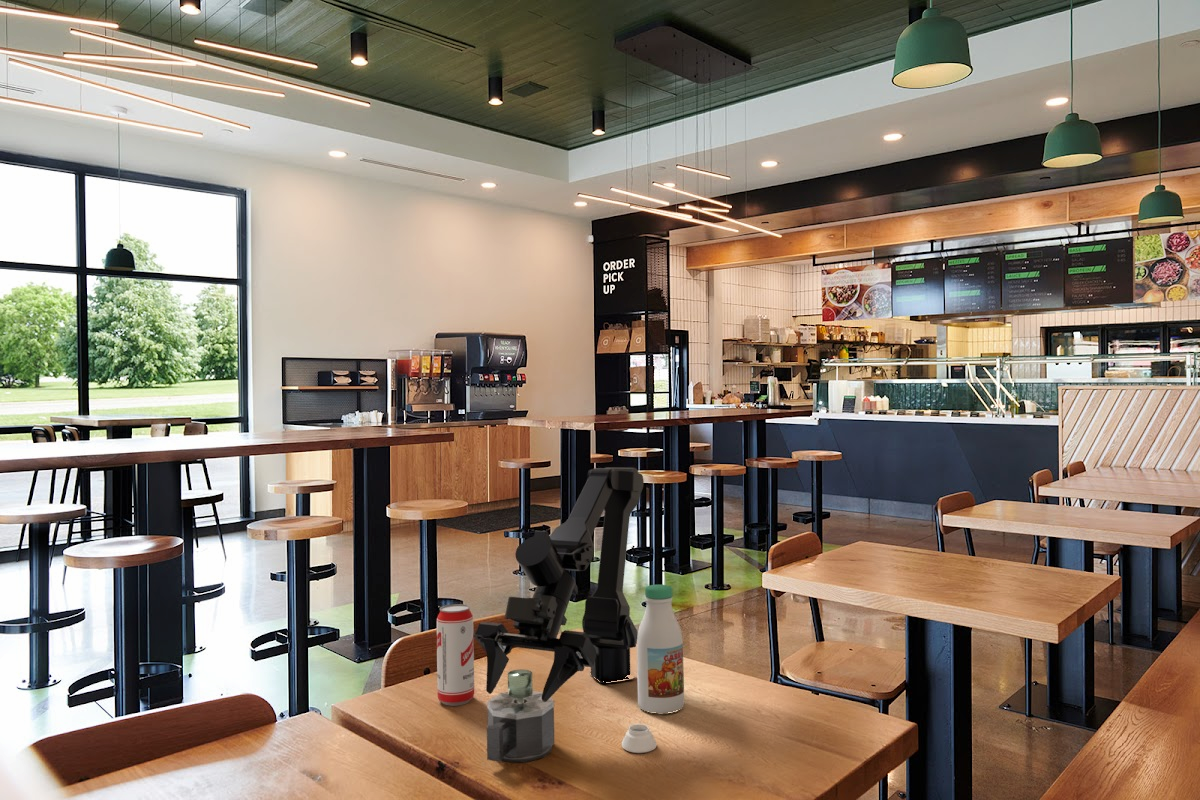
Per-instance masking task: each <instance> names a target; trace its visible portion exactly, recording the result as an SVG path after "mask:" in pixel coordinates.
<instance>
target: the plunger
mask: <svg viewBox="0 0 1200 800" xmlns="http://www.w3.org/2000/svg"><path fill="white" fill-rule="evenodd" d="M533 685H534V684H533V671H532V670H530V669H529V670H528V669H524V668H522V669H513V670H510V671H508V672H507V692H508V696H510V697H512V698H517V704H522V703H524V698H525V697H529V696H531V695H532V694H533V691H534V689H533Z"/></svg>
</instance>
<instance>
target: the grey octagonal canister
mask: <svg viewBox="0 0 1200 800" xmlns="http://www.w3.org/2000/svg"><path fill="white" fill-rule="evenodd" d="M542 694H543V691H538V690H533V694H532V695H531V696H529V697H525V698H524V703H522V704H517V698H512V697H510V696H508V691H507V692H500V693H498V694H497V695H495V696H493V697H491V698H490V699H489V700H487V701H486V708H487V726H486V756H487V757H486V759H487V760H488V761H493V762H498V763H500V762H506V763H512V764H513V763H516V764H517V763H528V762H533V761H537V760H540V759H542V758H544V757H547V756H548V755H549V754H550V753H551V752H552V749H553V745H554V744H555V710H554V709H555V708H554V707H555V700H554V699H553V698H552V696H551V697H550V698H549V699H548V700H547V701H546V702H543V700H542Z"/></svg>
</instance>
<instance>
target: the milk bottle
mask: <svg viewBox="0 0 1200 800" xmlns="http://www.w3.org/2000/svg"><path fill="white" fill-rule="evenodd" d="M673 590H674V589H673V587H672V586H670V585H667V584H650V585H647V586H646V587H645V589H644V595H645V599H644V600H645V602H646V605H645V606H646V607H645V612H644V613H643V614H644V615H643V617H642V619H641V622H640V624H639V627H638V629H637V632H638V633H637V643H636V669H637V670H636V672H637V675H636V676H637V679H636V680H637V683H636V684H637V706H638V708H639V709H640V708H641V709H643V710H645V711H649V712H656V713H668V712H673V711H676V710H679V709H681V708H682V707H683V708H684V705H685V675H684V673H685V672H684V671H685V670H684V646H683V645H684V644H683V643H684V642H683V641H684V640H683V635H682V634H683V633H682V629H681V626H680V624H679V622H678V620H677V618H676V615H675V613H674V609H673V606H672V605H673V604H672V602H673V594H674V591H673ZM683 708H682V709H683ZM641 709H640V710H641ZM682 709H681V710H682ZM643 710H642V711H643ZM645 711H644V712H645Z"/></svg>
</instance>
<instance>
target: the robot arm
mask: <svg viewBox="0 0 1200 800" xmlns="http://www.w3.org/2000/svg"><path fill="white" fill-rule="evenodd" d="M644 485H645V484H644V477H643V474H642V473H639V469H637V468H636V467H614V466H613V467H609V466H607V467H604V468H602V467H598V468H597V467H596V468H595V467H594V468H592V469H589V470H588V472H587V474H586V482H585V484H584V486H583V488H582V490H581V491H580V494H579V496H578V498H577V500H576V502H575V505H574V506H573V508H572V510H571V512H570V514H569V516H568V519H566V521H564V523H561V524H560V525H558V526H556V527H555V528H554V529H553V531H552V533H551V534H549V532H548V531H547V530H546V531H543V530H535V533H534V535H533V536H531V537H530V536H529V538H527V539H525V540H523V541H522V542H521V543H520V544H519V545H517V547H516V550H515V560H516V561H517V563H518V564H519V566H520V567H521V569H522V571H523V572H524V575H525V576H526V578H527V579H528V581H529V582H530V583H531V584H532V585H534V586H535V590H534V593H533V595H532V597H519V596H518V597H517V596H509V597H508V600H507V604H506V608H505V609H506V610H505V614H504V619H506V620H511V621H513V624H512V626H513V628H514V629H515V630H518V633H511V632H509V631H508V629H506V627H505V626H504V624H503V623H501V622H498V623H497V622H489V621H483V622H480V623H479V624H478V625H477V627H476V629H475V630H474V632H473V638H474V640H475V641H477V643H478V644H479V646H480V647H481V648H482V649H483V650H484V652H485V653H486V686H485V687H486V689H485V690H486V693H488V694H490V695H491V694H492V693H493V692H494V690H495V689H496V687H497V686H498V683H499V681H500V679H501V677H502V674H503V673H504V671H505V669H506V667H507V665H508V662H509V661H510V658H509V657H508V656H507V655H509V654H510V653H511V652H512V650H513V648H520V649H528V650H538V651H546V652H553V653H554V655H553V663H552V666H551V668H550V671H549V674H548V676H547V678H546V682H545V684H544V687H543V690H542V692H543V694H542V700H543V702H546V701H547V700H548V699H549V698H550V697H551V698H552V697H553V695H554V694H555V693H556V692H557V691H558V690H559V689H560V688H561V687H562V686H563V685H564V684H565V683H566V682H568V680H569V679H570V678H572V677H573V676H574V675H575V674H576V673H577V672H583V671H584V670H585V667H587V668H590V673H591V675H592V678H594V677H595V678H596V679H598V680H599V681H600V682H601V683H606V682H611V681H617V680H623V679H629V678H628V677H626V676H627V675H630V674H631V649H633V648H637V636H638V629H637V627H636V626H635V624H634V622H633V620H632V618H631V616H630V615H631V613H630V610H631V608H630V605H629V602H628V601H627V598H626V597H625V594H624V593H623V592H624V581H625V569H626V559H627V558H626V557H627V548H628V539H629V536H628V535H629V525H630V517H631V514H632V512H634V510H635V508H636V507H637V506H638V504H639V503H640V499H641V495H642V494H641V493H642V491H643V489H644ZM603 512H604V517H603V525H602V526H603V527H602V536H601V537H602V538H601V546H600V557H599V565H598V566H599V567H598V568H599V569H598V574H597V575H598V577H597V587H596V589H595V591H594V592H593V594H592V595H591V596H587V597H586V599H585V601H584V614H583V616H582V621H581V624H582V625H581V627H582V631H577V630H576V631H575V630H566V629H565V630H564V631H561V633H560V636H559V637H558V634H559V632H560V629H561V626H566V624H567V621H568V619H567V618H566V616H565V614H566V611H567V609H568V606H569V603H570V600H571V598H572V597H571V596H572V595H578V594H579V593H578V592H579V591H578V585H577V584H576V580H575V579H576V578H575V577H574V576H573V574H572V573H571V572H570V571H572V572H573V571H576V572H583V571H586V570H587V569H588V567H589V565H590V564H591V563H592V560H593V557H594V551H595V547H594V542H593V539H592V538H593V535H594V533H595V532H594V531H596V527H597V526H598V524H599V521H600V518H601V516H602V515H603ZM590 673H589V674H590ZM591 675H590V676H591ZM625 677H626V678H625ZM595 678H594V679H595ZM596 679H595V680H596ZM603 681H604V682H603ZM600 682H599V683H600ZM601 683H600V684H601Z"/></svg>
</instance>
